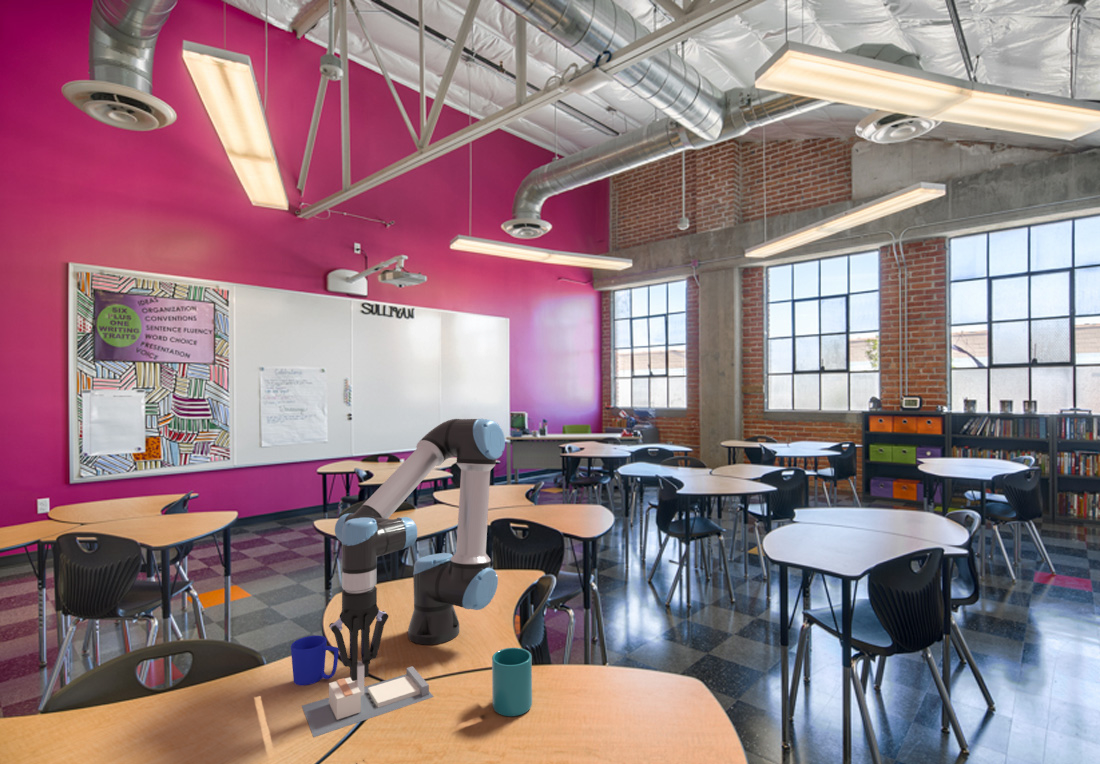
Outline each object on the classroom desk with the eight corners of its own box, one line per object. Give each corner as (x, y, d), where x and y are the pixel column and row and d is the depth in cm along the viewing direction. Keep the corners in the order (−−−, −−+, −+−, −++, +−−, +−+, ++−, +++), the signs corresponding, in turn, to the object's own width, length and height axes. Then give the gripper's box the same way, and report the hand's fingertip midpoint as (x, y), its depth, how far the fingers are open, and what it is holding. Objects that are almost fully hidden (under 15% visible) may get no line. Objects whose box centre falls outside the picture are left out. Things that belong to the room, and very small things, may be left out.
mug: (327, 694, 128) (327, 652, 129) (283, 690, 131) (283, 648, 131) (347, 677, 136) (347, 637, 137) (305, 673, 139) (305, 634, 139)
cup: (535, 689, 129) (535, 642, 130) (529, 718, 117) (528, 666, 118) (498, 688, 130) (498, 641, 131) (488, 717, 118) (488, 665, 119)
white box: (351, 695, 125) (351, 675, 125) (360, 712, 118) (360, 690, 118) (328, 702, 122) (328, 682, 122) (336, 719, 115) (336, 698, 116)
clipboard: (412, 676, 136) (412, 663, 136) (433, 701, 125) (433, 687, 125) (301, 711, 122) (301, 695, 122) (313, 743, 110) (313, 726, 110)
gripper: (382, 578, 130) (383, 677, 129) (325, 589, 122) (325, 694, 121) (392, 586, 123) (393, 691, 123) (333, 598, 116) (333, 710, 115)
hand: (359, 692), depth 122 cm, fingers closed
